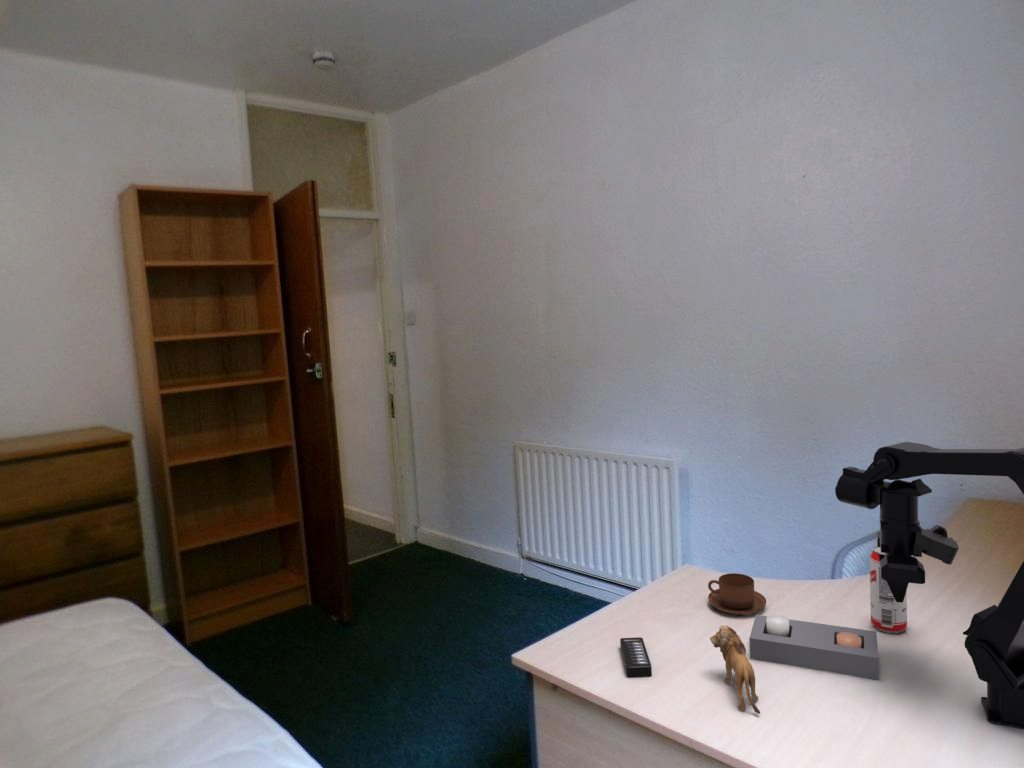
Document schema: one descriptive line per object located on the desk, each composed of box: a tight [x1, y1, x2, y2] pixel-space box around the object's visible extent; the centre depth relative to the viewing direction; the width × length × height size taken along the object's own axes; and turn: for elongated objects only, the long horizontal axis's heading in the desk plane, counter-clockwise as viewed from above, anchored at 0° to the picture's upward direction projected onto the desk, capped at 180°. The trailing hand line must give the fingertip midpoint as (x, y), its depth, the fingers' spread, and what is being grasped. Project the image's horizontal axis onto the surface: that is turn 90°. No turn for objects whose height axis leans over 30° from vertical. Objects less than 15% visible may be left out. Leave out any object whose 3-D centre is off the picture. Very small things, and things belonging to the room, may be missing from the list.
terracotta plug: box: [837, 632, 862, 648], centre depth 119 cm, size 4×4×4 cm
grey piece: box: [766, 614, 789, 637], centre depth 124 cm, size 4×4×4 cm
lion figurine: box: [709, 625, 761, 715], centre depth 112 cm, size 15×5×9 cm, turn 5°
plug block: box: [748, 614, 880, 681], centre depth 122 cm, size 10×21×4 cm, turn 63°
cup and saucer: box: [707, 572, 767, 615], centre depth 143 cm, size 12×12×6 cm
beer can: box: [869, 545, 908, 634], centre depth 129 cm, size 6×6×16 cm
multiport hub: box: [619, 637, 653, 679], centre depth 124 cm, size 4×11×2 cm, turn 177°
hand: (899, 601), depth 115 cm, fingers closed
